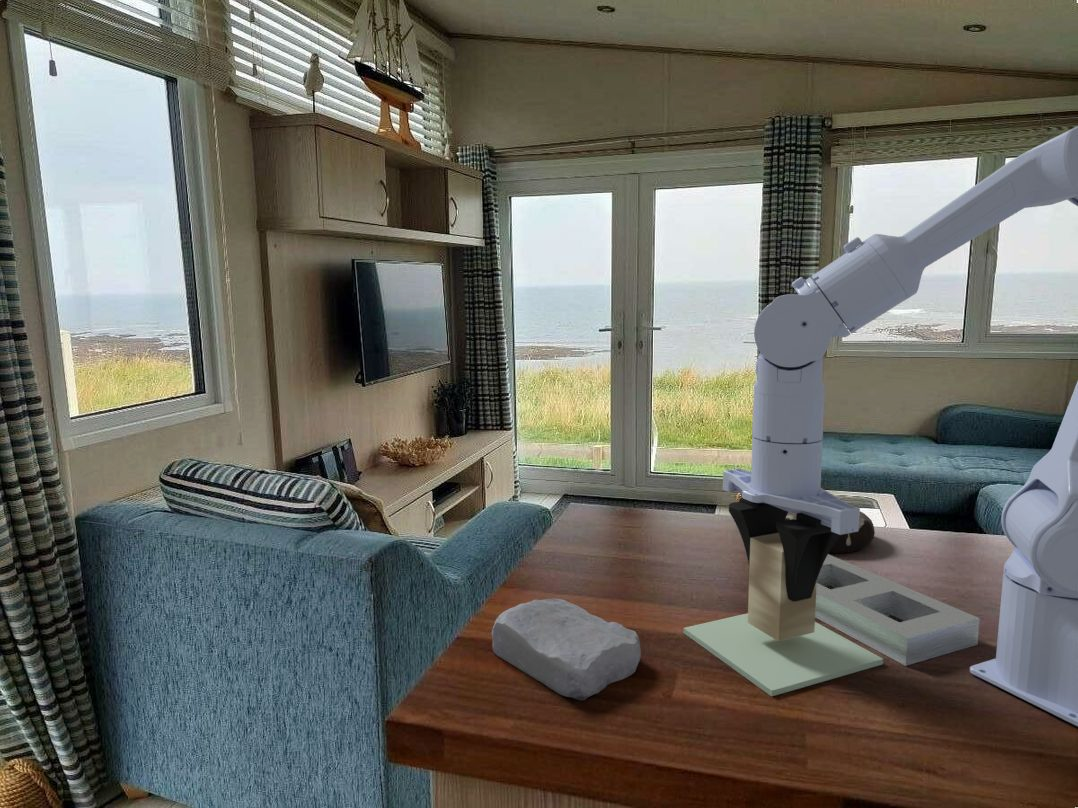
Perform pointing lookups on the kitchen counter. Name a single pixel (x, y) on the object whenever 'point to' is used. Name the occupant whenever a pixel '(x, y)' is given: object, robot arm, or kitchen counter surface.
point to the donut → (851, 536)
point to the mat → (781, 654)
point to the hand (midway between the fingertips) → (780, 588)
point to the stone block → (565, 646)
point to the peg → (775, 593)
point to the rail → (873, 598)
